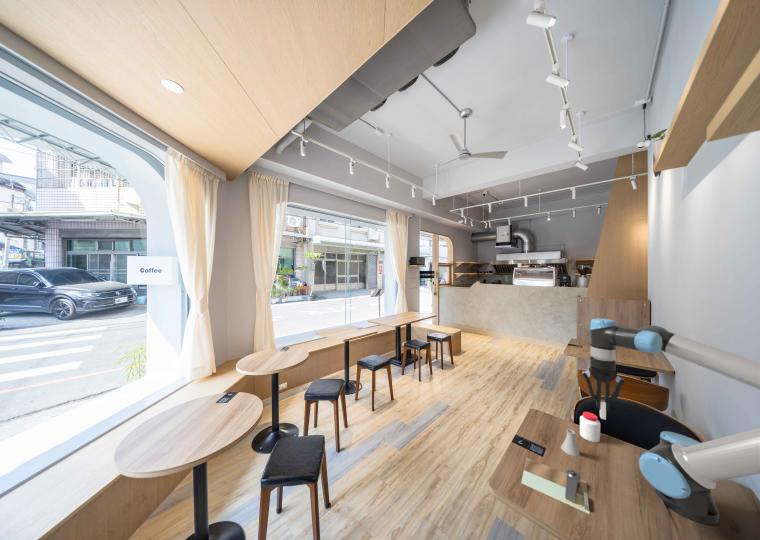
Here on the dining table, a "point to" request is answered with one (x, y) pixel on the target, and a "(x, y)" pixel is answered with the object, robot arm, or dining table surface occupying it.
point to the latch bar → (572, 485)
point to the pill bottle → (590, 427)
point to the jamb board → (552, 474)
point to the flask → (570, 444)
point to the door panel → (554, 491)
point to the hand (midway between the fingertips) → (602, 417)
